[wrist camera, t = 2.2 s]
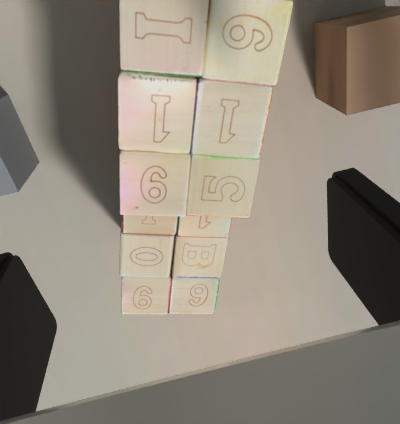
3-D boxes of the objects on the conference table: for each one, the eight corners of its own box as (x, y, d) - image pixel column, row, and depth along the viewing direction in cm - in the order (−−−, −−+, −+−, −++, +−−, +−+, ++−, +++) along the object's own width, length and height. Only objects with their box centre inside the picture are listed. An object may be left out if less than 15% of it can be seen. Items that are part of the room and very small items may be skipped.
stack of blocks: (198, 238, 32) (221, 354, 22) (125, 235, 31) (112, 355, 21) (241, -59, 22) (326, -118, 11) (135, -78, 21) (120, -161, 10)
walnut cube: (384, 6, 25) (434, 6, 20) (381, 82, 27) (424, 96, 23) (312, 23, 25) (346, 27, 20) (315, 97, 27) (346, 115, 23)
